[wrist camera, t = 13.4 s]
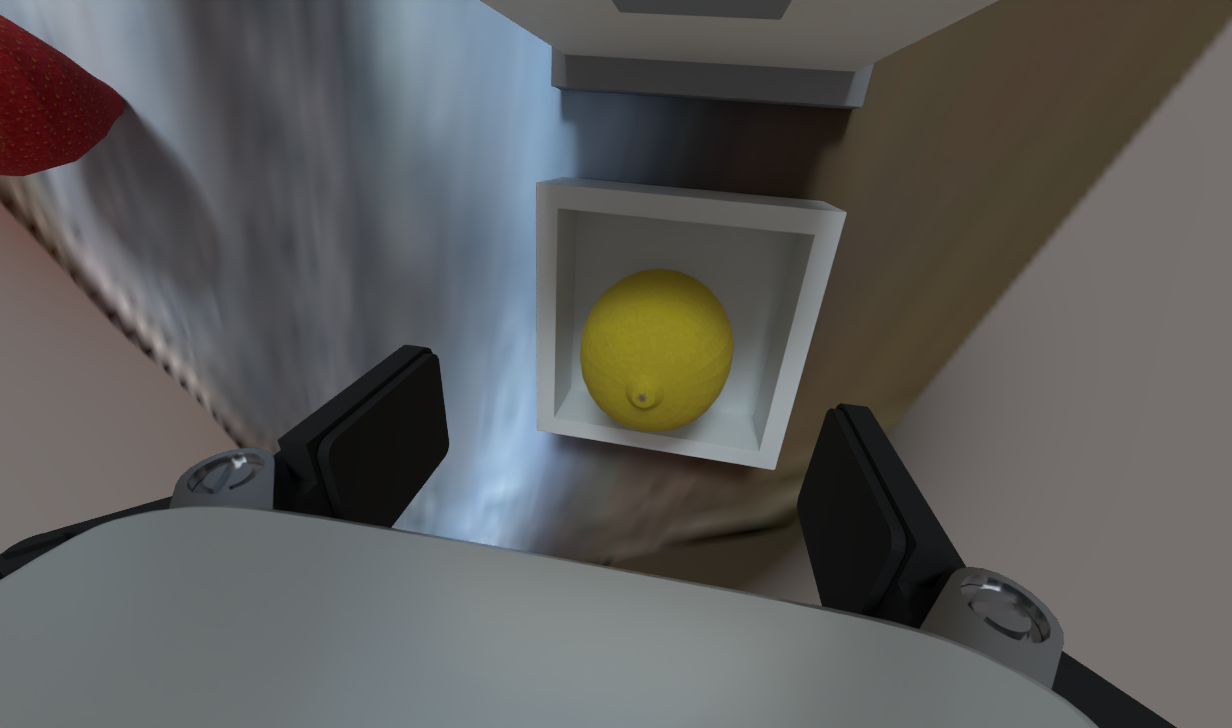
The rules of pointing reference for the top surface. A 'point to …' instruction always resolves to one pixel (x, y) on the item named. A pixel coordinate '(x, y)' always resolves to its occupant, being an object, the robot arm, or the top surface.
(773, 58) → the block
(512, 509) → the top surface
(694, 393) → the lemon
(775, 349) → the tray
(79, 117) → the strawberry
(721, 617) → the robot arm
